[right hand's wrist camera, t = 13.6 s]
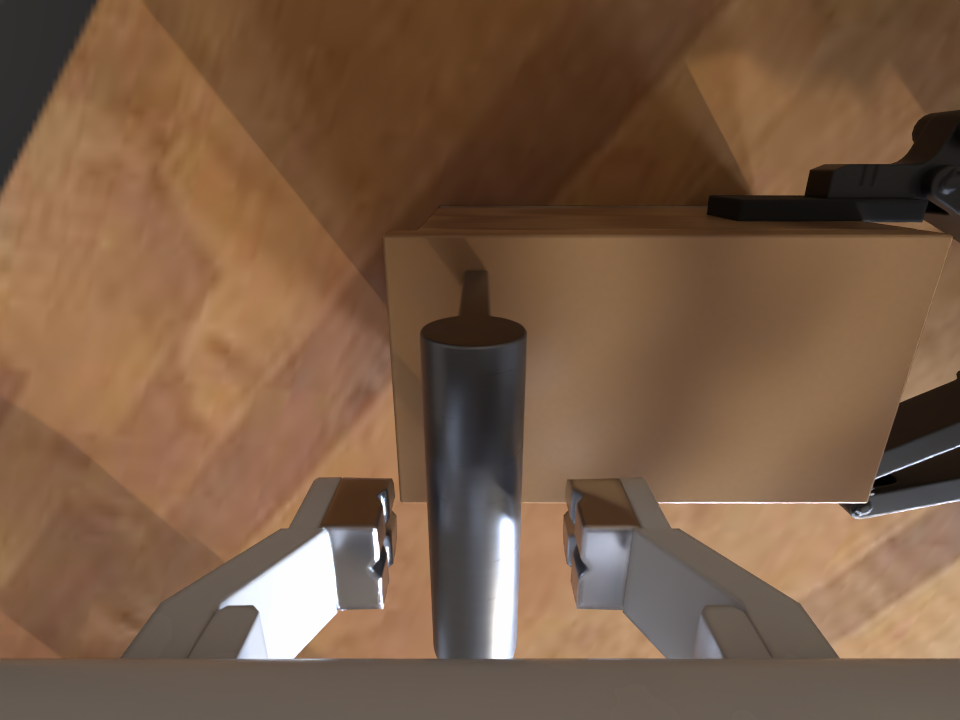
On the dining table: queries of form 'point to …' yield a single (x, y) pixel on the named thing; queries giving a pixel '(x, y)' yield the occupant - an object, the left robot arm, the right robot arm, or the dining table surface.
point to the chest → (615, 219)
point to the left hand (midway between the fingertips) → (702, 334)
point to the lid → (636, 379)
